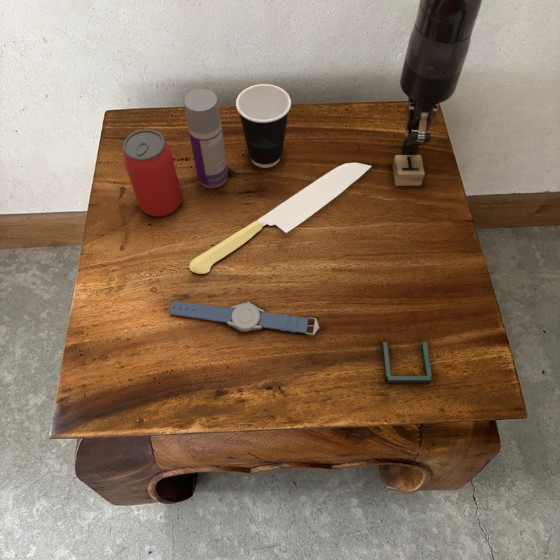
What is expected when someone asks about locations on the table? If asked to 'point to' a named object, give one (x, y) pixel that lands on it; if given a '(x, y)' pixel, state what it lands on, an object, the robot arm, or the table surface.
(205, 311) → the wristwatch
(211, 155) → the container
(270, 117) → the dixie cup
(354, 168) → the knife
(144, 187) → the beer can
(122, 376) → the table surface
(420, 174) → the letter tile
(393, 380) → the frame
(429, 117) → the robot arm
